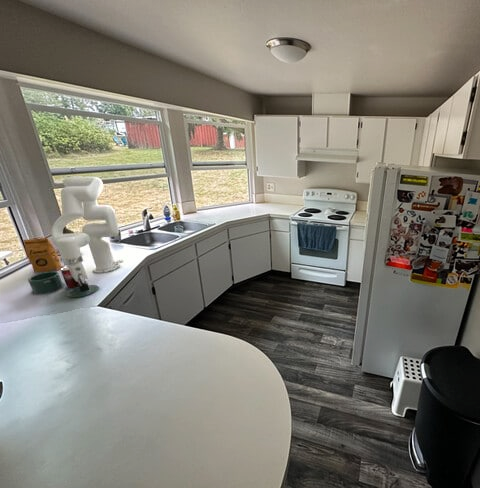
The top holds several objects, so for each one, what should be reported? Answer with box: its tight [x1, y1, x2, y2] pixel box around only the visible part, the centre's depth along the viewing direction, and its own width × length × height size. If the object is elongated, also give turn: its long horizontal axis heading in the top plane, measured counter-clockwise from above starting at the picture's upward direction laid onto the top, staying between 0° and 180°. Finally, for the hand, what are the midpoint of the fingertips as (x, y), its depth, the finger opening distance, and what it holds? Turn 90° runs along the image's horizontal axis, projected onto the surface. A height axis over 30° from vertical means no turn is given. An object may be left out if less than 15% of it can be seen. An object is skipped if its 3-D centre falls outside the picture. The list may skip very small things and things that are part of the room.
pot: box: [27, 271, 64, 295], centre depth 141 cm, size 12×17×8 cm
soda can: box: [60, 265, 79, 290], centre depth 144 cm, size 7×7×12 cm
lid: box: [67, 283, 99, 298], centre depth 139 cm, size 13×13×6 cm
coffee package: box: [23, 237, 63, 274], centre depth 160 cm, size 10×12×22 cm
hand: (83, 288), depth 139 cm, fingers open, 9 cm apart
